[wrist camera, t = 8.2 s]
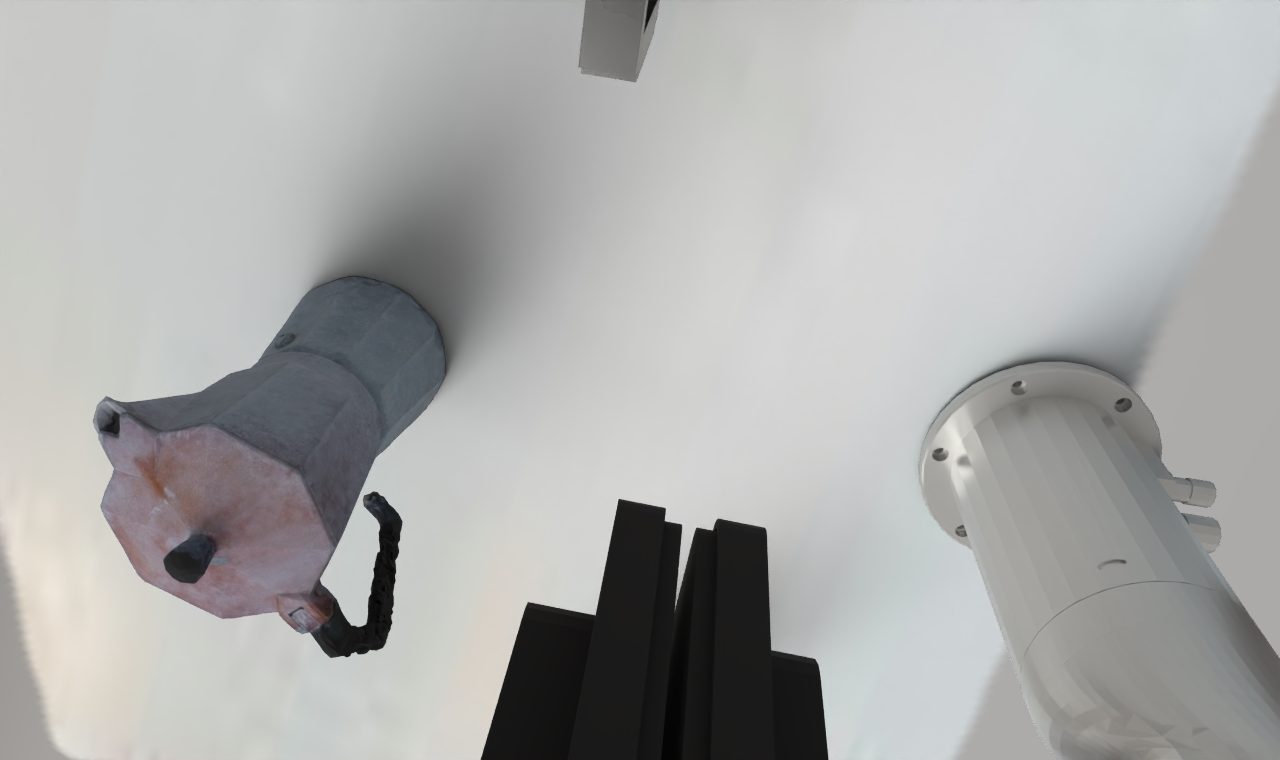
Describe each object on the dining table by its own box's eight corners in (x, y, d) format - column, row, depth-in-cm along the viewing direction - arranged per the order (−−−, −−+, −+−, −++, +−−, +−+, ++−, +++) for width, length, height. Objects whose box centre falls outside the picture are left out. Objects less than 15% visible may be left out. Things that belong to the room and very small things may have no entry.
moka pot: (324, 194, 49) (108, 387, 32) (534, 398, 54) (444, 660, 37) (215, 302, 53) (-34, 529, 36) (421, 484, 58) (291, 761, 41)
